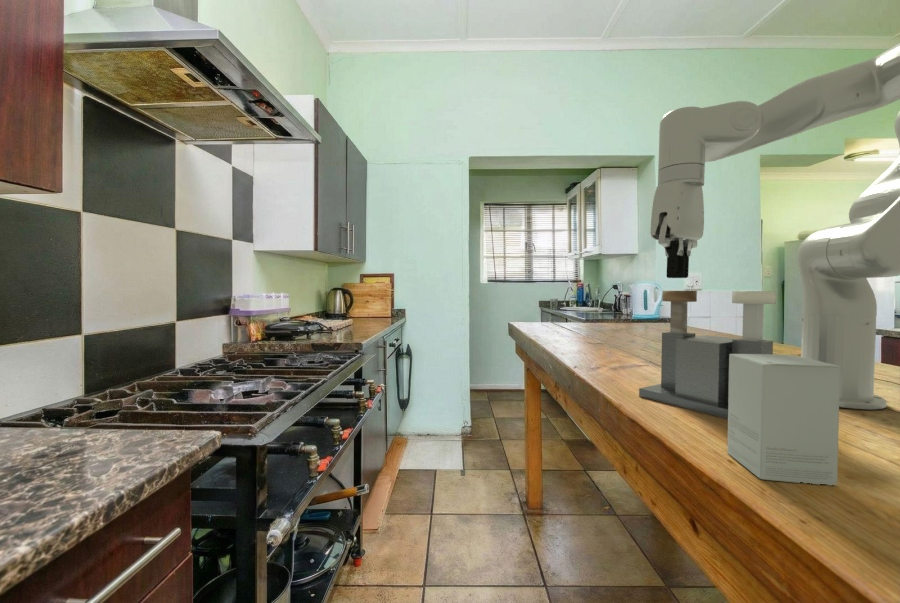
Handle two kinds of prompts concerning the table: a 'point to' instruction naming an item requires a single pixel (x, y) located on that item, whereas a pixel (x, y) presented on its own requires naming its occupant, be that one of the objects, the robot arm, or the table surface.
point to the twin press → (699, 371)
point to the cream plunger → (753, 311)
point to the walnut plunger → (679, 308)
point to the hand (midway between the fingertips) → (677, 277)
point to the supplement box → (784, 417)
